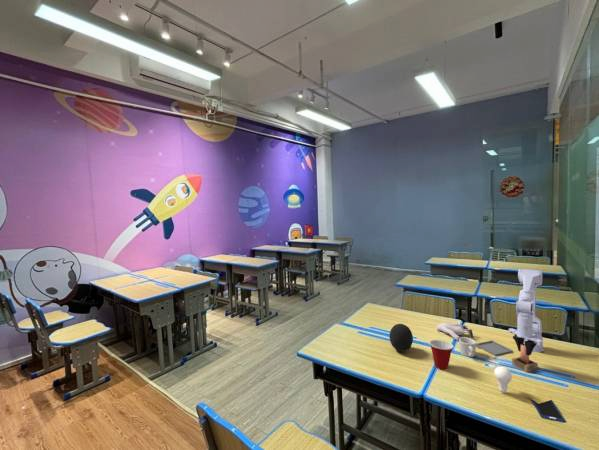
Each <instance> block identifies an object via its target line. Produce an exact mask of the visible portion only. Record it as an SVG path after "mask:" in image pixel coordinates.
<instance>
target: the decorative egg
mask: <svg viewBox="0 0 599 450" xmlns="http://www.w3.org/2000/svg"><path fill="white" fill-rule="evenodd" d="M389 331H390V332H389V336H388V337H389V342H390V344H391V345H392V347H393V349H395V350H396V351H398V352H406V351H408V350H409V349H410V348H412V345H413V342H414V337H413V332H412V330H411V329H410V327H409V326H407V325H406V324H403V323H397V324H394V325H393V326H392V327H391V329H390V330H389Z"/></svg>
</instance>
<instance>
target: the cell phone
mask: <svg viewBox="0 0 599 450" xmlns="http://www.w3.org/2000/svg"><path fill="white" fill-rule="evenodd" d="M530 401H531V403H532V404H533V406H534V408H535V410H536V411H537V413H538V415H539V417H541V418H542V419H545V420H547V421H548V420H550V421H555V422H557V423H564V424H566V422H567V421H566V420H565V417H564V416H563V415H562V413H561V411H559V409H558V407H557V406H556V404H555V402H554V401H553V400H552V399H550V400H546V401H543V402H540V403H538V402H536V400H533V399H532V398H530Z"/></svg>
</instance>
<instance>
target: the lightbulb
mask: <svg viewBox="0 0 599 450" xmlns="http://www.w3.org/2000/svg"><path fill="white" fill-rule="evenodd" d="M493 374H494V377H495V379H496V381H497V382H498V383H497V385H498V390H499V391H500V392H501V393H502V394H504V393H507V390H508V385H509V383H511V381H512V379H513V375H512V372H511V371H510V370H509V368H506V367H505V366H496V367H495V369H494V371H493Z"/></svg>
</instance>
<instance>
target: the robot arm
mask: <svg viewBox="0 0 599 450" xmlns="http://www.w3.org/2000/svg"><path fill="white" fill-rule="evenodd" d="M517 279H518V281H519V284H520V283H521V285H522V284H523V286H522V288H523V289H521V290H520V291H519V295H518V300H516V302H515V309H516V310H515V311H516V316H517V322H516V323H517V328H516V329H515V328H512V327H511V328H508V334H514V335H513V336H512V339H513V340H514V342H515V345H516V346H517V350H518V352H521V344H525V346H526V355H529V356H531V355H532V354H534V353H540V352H544V351H545V349H544V339H543V335H542V333H543V331H542V330H543V325H542V323H543V321H542V320H541V319H540V318H539V317H537V316H536V298H537V297H536V294H537V293H536V292H537V287H538V286H542V284H543V271H542V270H537V269H536V270H535V269H534V270H533V269H527V268H526V269H524V268H519V269H518V272H517Z"/></svg>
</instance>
